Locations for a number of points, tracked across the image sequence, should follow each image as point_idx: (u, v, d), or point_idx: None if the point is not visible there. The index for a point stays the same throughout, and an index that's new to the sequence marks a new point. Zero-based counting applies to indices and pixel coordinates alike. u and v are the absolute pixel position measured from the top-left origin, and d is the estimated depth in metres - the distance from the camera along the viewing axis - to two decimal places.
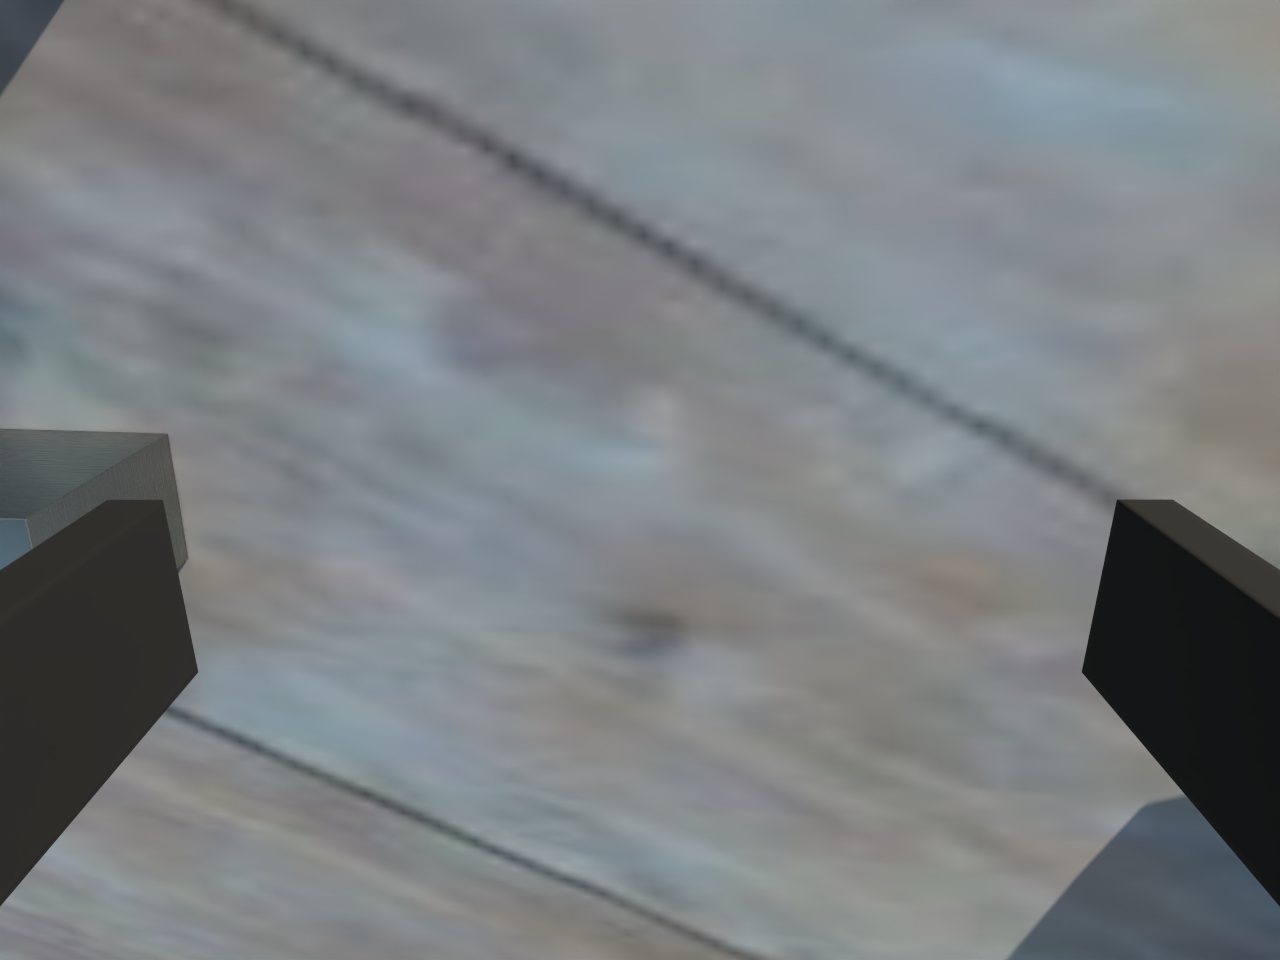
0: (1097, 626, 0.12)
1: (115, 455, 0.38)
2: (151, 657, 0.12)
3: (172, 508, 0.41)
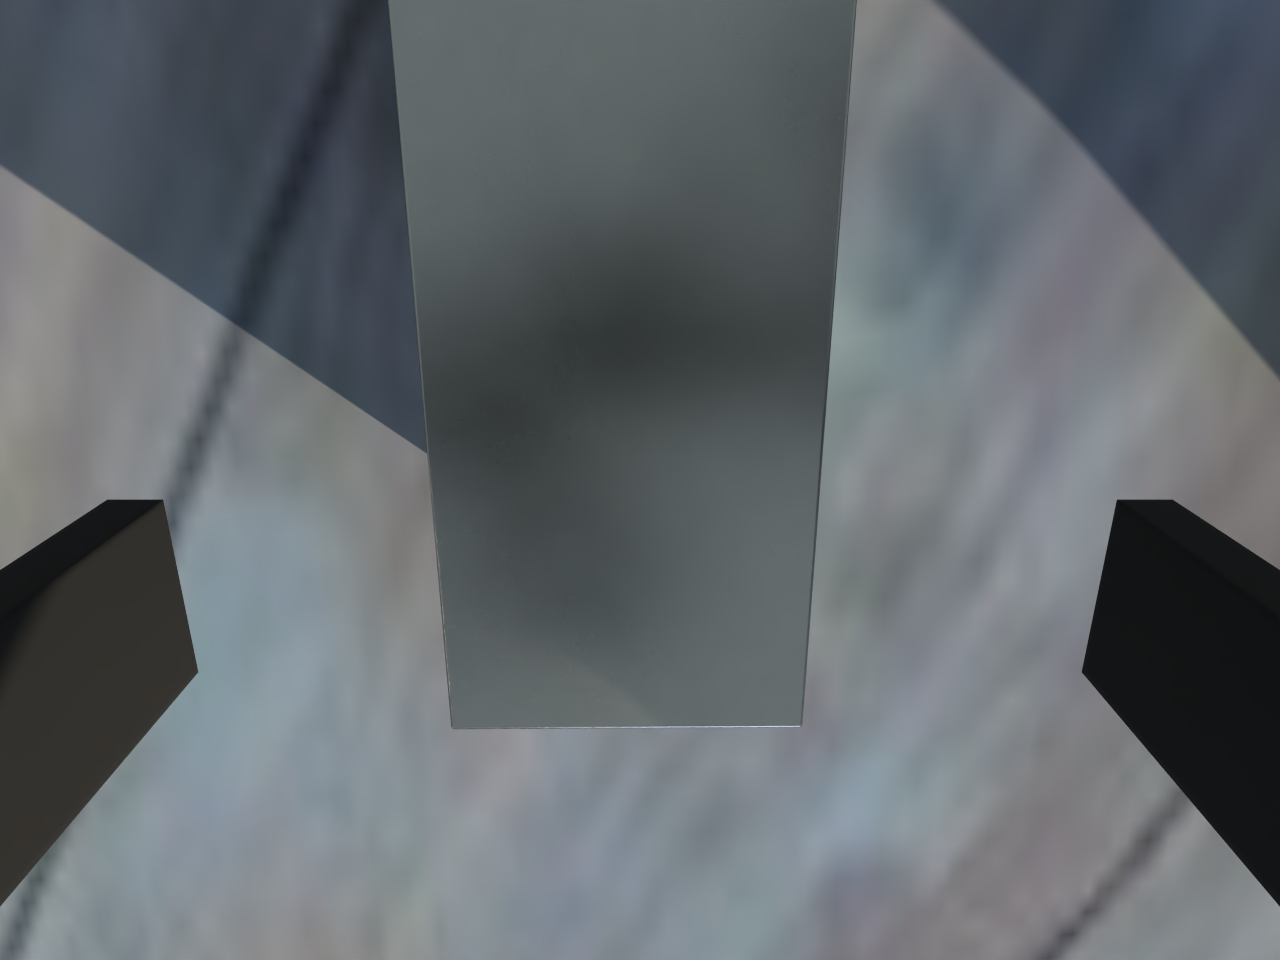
0: (1097, 625, 0.12)
1: None
2: (151, 657, 0.12)
3: None
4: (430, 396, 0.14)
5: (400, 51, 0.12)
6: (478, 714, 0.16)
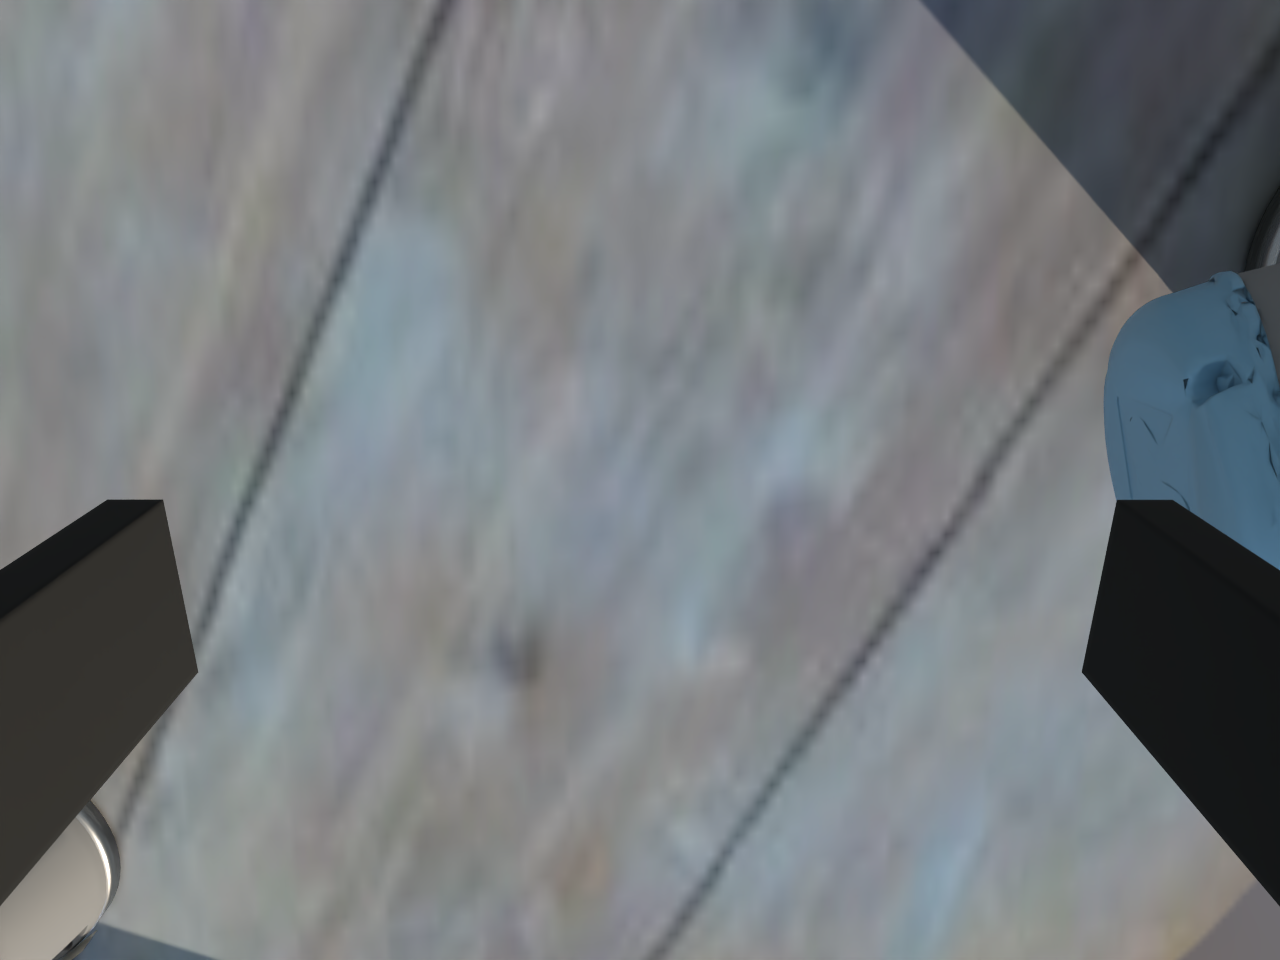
0: (1096, 625, 0.12)
1: None
2: (151, 657, 0.12)
3: None
4: None
5: None
6: None
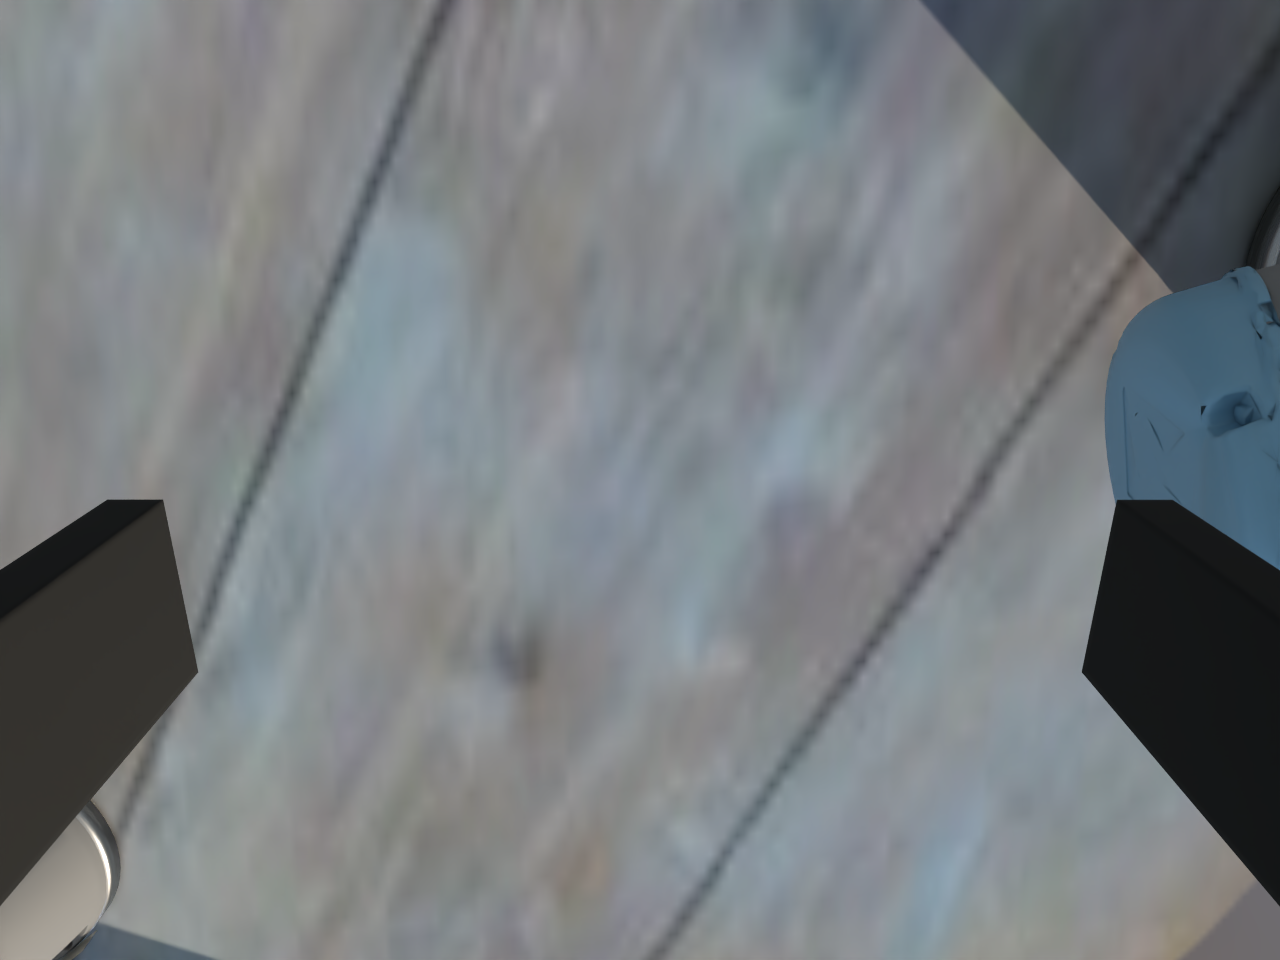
0: (1096, 625, 0.12)
1: None
2: (151, 657, 0.12)
3: None
4: None
5: None
6: None
